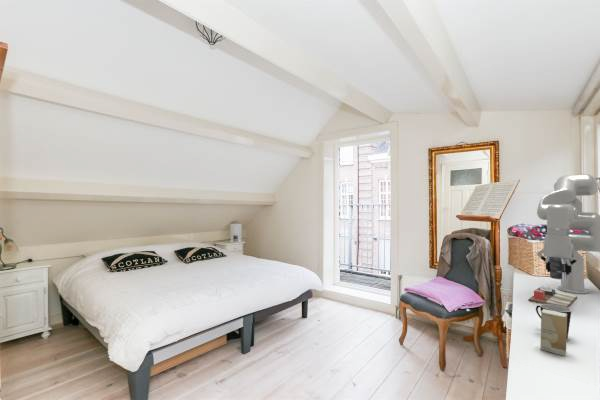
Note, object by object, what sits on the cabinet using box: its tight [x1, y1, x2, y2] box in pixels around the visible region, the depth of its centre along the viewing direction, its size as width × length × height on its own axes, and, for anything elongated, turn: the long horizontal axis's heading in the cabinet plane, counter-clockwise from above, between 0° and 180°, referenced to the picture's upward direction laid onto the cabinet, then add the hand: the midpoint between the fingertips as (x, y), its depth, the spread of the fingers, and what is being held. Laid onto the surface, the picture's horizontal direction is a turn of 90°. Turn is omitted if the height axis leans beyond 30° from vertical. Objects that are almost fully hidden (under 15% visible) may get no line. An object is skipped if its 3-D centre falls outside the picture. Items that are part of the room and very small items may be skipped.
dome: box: [540, 284, 552, 292], centre depth 160 cm, size 5×5×4 cm
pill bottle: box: [549, 257, 567, 281], centre depth 139 cm, size 6×6×11 cm
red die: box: [533, 289, 545, 300], centre depth 151 cm, size 4×4×4 cm
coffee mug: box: [535, 303, 572, 340], centre depth 112 cm, size 12×9×10 cm
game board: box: [528, 286, 578, 309], centre depth 153 cm, size 24×14×3 cm, turn 131°
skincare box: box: [539, 309, 568, 357], centre depth 99 cm, size 6×4×12 cm
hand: (558, 272), depth 139 cm, fingers closed on pill bottle, 6 cm apart
